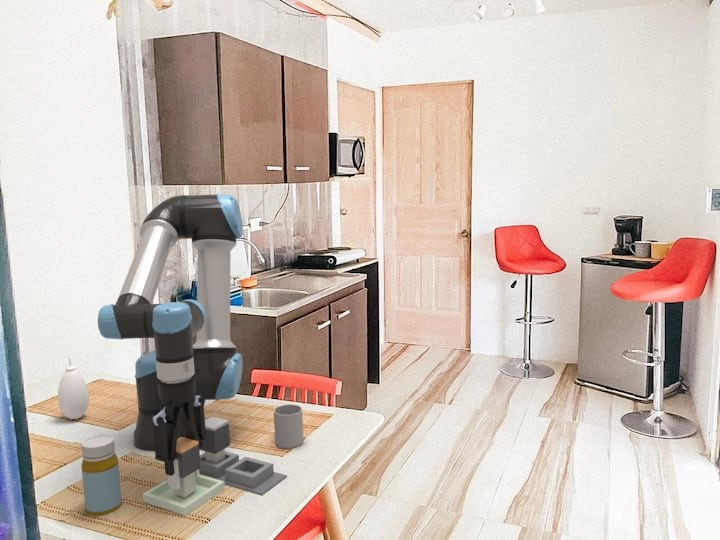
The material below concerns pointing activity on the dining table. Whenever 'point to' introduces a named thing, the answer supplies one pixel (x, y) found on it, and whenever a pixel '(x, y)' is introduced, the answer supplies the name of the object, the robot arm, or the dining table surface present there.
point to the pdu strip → (234, 462)
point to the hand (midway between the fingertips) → (184, 480)
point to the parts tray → (179, 504)
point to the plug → (187, 464)
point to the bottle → (100, 475)
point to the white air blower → (73, 393)
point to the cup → (288, 426)
